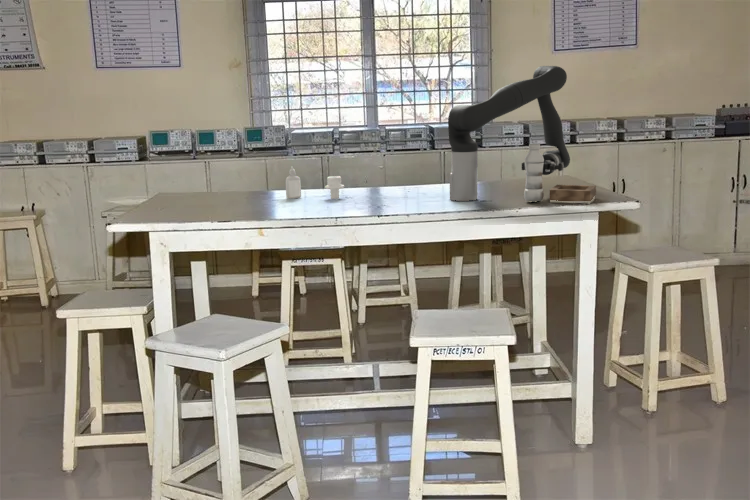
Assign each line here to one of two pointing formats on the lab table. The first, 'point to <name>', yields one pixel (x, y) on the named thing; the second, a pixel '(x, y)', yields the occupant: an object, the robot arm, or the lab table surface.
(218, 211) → the lab table surface
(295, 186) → the eye dropper bottle
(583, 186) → the wooden square frame
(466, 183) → the robot arm
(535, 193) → the plastic bottle
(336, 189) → the pipe fitting
